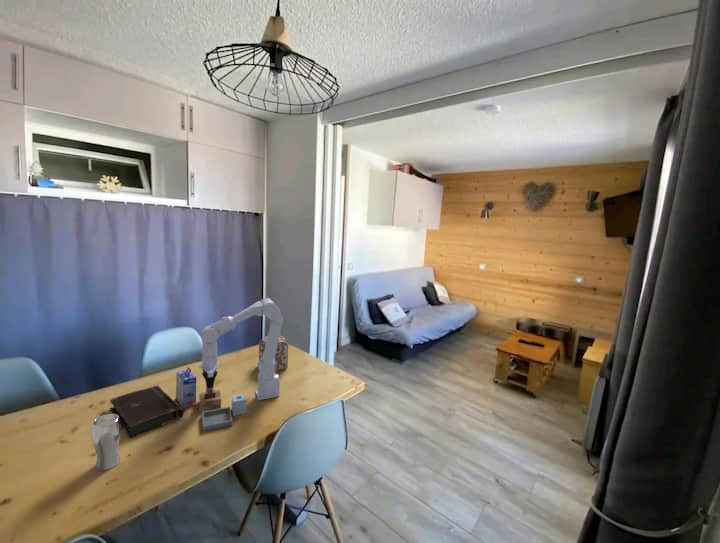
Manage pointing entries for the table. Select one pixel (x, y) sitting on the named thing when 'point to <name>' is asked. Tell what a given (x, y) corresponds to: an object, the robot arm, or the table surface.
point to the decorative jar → (277, 352)
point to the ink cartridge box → (186, 388)
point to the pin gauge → (209, 390)
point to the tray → (216, 419)
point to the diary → (145, 410)
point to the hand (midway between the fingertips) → (209, 385)
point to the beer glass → (106, 441)
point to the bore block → (209, 400)
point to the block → (238, 404)
